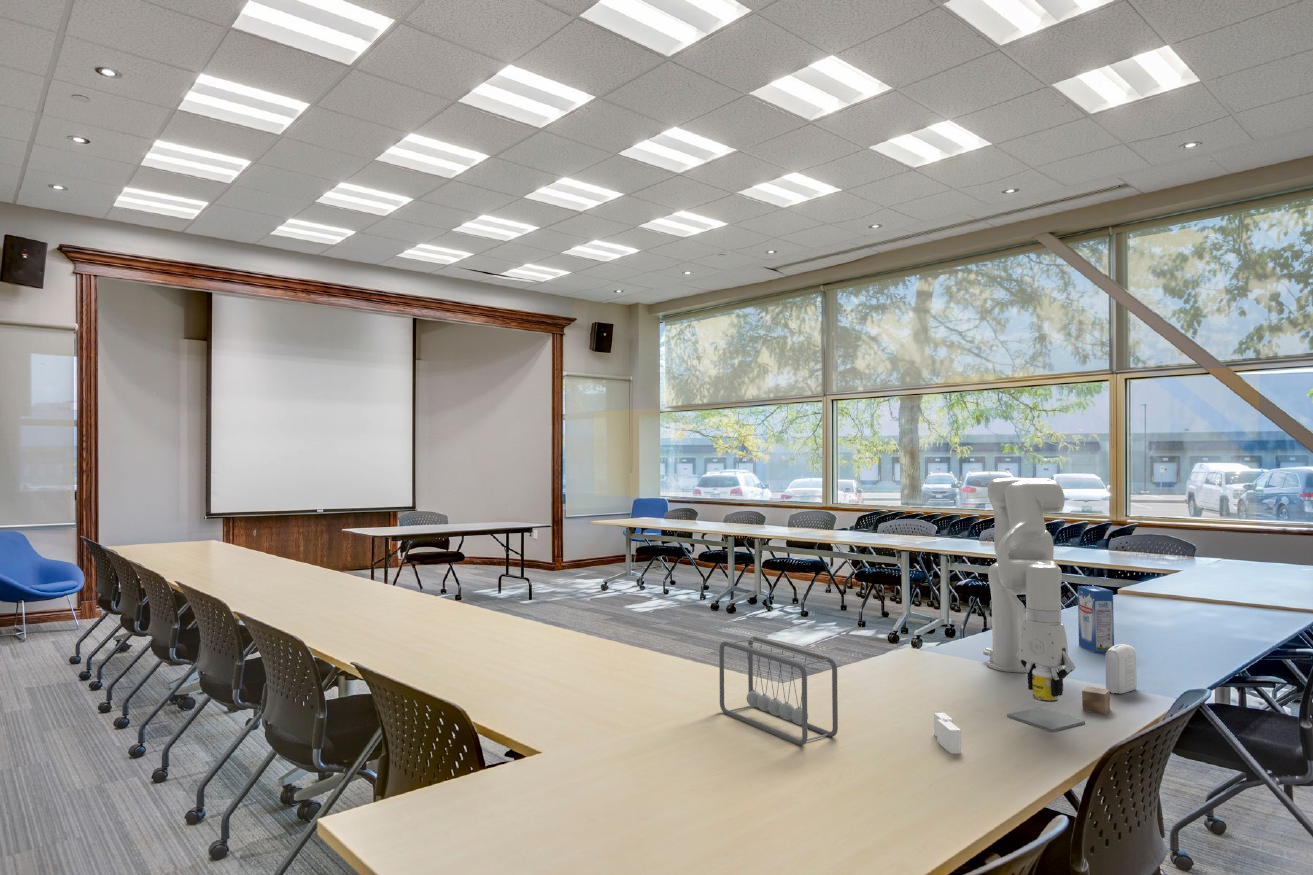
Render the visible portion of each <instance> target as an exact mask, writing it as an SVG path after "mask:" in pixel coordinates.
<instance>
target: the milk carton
mask: <svg viewBox="0 0 1313 875" xmlns="http://www.w3.org/2000/svg"><path fill="white" fill-rule="evenodd" d="M1077 606H1078V607H1077V612H1078V613H1077V616H1078V617H1077V620H1078V621H1077V622H1078V647H1080V646H1081V647H1080V648H1083V649H1085V648H1086V649H1085V650H1086V651H1089V650H1091V651H1090V652H1092V651H1093V652H1092V653H1095V654H1106V652H1107V651H1108V650H1109V649H1110V648H1111V647H1113V646H1115V626H1114V624H1115V623H1114V616H1115V615H1114V591H1113V590H1111V589H1107V588H1104V587H1099V586H1096V585H1095V586H1094V585H1093V586H1091V585H1090V586H1087V585H1085V586H1083V585H1080V586H1079V585H1078V586H1077Z"/></svg>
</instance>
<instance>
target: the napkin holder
mask: <svg viewBox="0 0 1313 875" xmlns="http://www.w3.org/2000/svg"><path fill="white" fill-rule="evenodd" d="M933 720H934V721H933V722H934V723H933V727H934V729H933V730H934V732H933V733H934V734H933V735H934V736H935V737H937V741H936V742H937V743H938V744H940V745H941V746H942V748H944V749H945V750H946V751H947V752H948V753H950V754H962V729H960V728H959V727H958V726H956V724H954V721H953V718H952V717H951V716H949V715H948V714H946V713H945V712H934V713H933Z"/></svg>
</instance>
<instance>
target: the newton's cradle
mask: <svg viewBox="0 0 1313 875" xmlns="http://www.w3.org/2000/svg"><path fill="white" fill-rule="evenodd" d="M744 642H747V646H746V645H743V644H741V643H744ZM754 643H756V646H758V645H760V647H761V648H758V649H757V648H754V647H753V646H754ZM762 645H764V646H767V649H769V648H770V652H767V651H764V650H763V649H765V647H764V648H763V647H762ZM725 647H728V648H731V649H734V650H738V651H741V652H745V653H746V655H747V656H746V657H747V662H748V664H747V665H748V667H747V668H748V669H747V671H748V672H747V674H748V679H747V680H748V683H747V684H748V693H747V695H746V702H747V703H748V705H746V706H743V707H738V708H733V709H727V707H726V705H725ZM773 648H774V649H776V650H774V651H773ZM777 650H778V652H781V655H778V654H775V653H776V652H777ZM718 651H719V661H718V662H719V707H720V710H721V712H722V713H724V714H725V715H727V716H730V717H732V718H734V719H735V720H736V719H737V720H739V721H741V722H744V723H746V724H748V725H749V726H753V727H755V728H757V729H760V730H762V731H765V732H767V733H770V734H772V735H774V736H776V737H779V738H782V739H783V740H785V741H788V742H791V743H793V742H794V743H793V744H795V743H796V744H795V745H797V744H798V746H805V745H806V743H807V742H809V741H813V740H817V739H820V738H824V737H829V738H833V737H834V738H835V736H836V735H837V733H838V728H839V726H838V724H839V721H838V720H839V717H838V716H839V712H838V711H839V710H838V709H839V708H838V705H839V704H838V666H837V663H836V661H835V660H834V659H833V658H831V657H830V656H827V655H823V654H819V653H815V652H812V651H809V650H805V649H801V648H797V647H794V646H790V645H788V644H783V643H780V642H776V641H772V640H769V639H765V638H762V637H758V636H751V637H750V638H747V639H742V640H740V639H739V640H736V641H730V642H729V641H727V640H726V641H722V642H721V643H720V645H719V650H718ZM784 652H787V653H789V654H786V656H788V655H790V654H791V655H793V656H792V658H787V657H784V656H785V654H784ZM795 655H798V656H801V657H797V658H796V657H795ZM754 656H756V657H757V663H758V664H757V665H758V666H757V670H758V671H757V672H756V677H758V675H759V676H760V682H761V684H763V682H762V681H763V680H762V673H761V666H760V660H761V658H764V659H767V662H768V666H769V667H768V672H767V677H769V676H772V672H771V667H770V666H771V663H770V662H771V661H773V662H776V663H778V664H779V672H780V673H779V676H778V682H777V691H776V695H778V692H779V686H780V678H781V683H782V685H784V681H783V675H782V665H781V664H783V665H785V666H790V668H791V671H790V672H791V674H790V681H789V687H788V688H789V689H788V698H787V701H786V695H785V688H784V686H782V690H783V695H784V696H783V697H784V702H783V701H782V700H780V699H779V698H778V696H776V697H775V690H772V693H773V694H772V695H773V698H772V697H771V696H770V695H768V694H767V693H765V692H767V691H768V690H767V689H768V682H769V678H767V680H766V687H765V688H766V689H765V692H764V687H763V685H761V689H762V694H761V693H760V692H759V691H758V690H757V686H755V688H754V674H753V673H754V672H753V671H754V668H753V667H754V662H753V661H754V660H753V659H754ZM801 658H802V659H803V658H804V662H802V661H798V660H797V659H801ZM807 658H808V659H811V660H815V661H811V662H810V661H809V662H806V661H807ZM823 662H827V663H828V664H830V666H831V687H832V688H831V691H832V693H831V694H832V700H831V702H832V705H831V706H832V710H831V711H832V730H831V731H829V730H827V729H824V728H821V727H819V726H817V725H815V724H811V723H809V722H808V719H809V714H808V713H809V712H808V675H807V674H808V673H807V670H806V666H808V665H809V666H810V665H813V664H819V663H823ZM793 668H796V669H799V671H800V673H801V695H800V696H801V698H800V703H801V704H800V705H799V702H798V696H797V690H796V684H795V679H794V672H793ZM755 679H756V680H755V681H756V682H755V685H757V683H758V678H755ZM772 679H773V678H772V677H770V680H771V687H772V689H774V685H773V680H772ZM792 681H793V687H794V692H795V698H796V704H797V707H794V705H793V704H792V703H790V702H789V698H790V692H791V691H790V690H791V683H792ZM748 708H755V709H758V710H760V711H763V712H764V713H765V712H766V713H768V714H771V715H772V716H775V717H778V718H781V719H784V720H786V721H788V722H790V723H794V724H796V725H799V726H801V734H802V735H801V736H802V737H801V739H799V738H796V737H794V736H791V735H790V734H787V733H784V732H782V731H780V730H777V729H774V728H772V727H771V726H768V725H765V724H763V723H761V722H758V721H757V720H756V721H755V720H754V719H751V718H748V717H746V716H744V715H741V714H739V713H737V712H736V711H739V710H744V709H748ZM808 730H811V731H813V732H816V733H818V734H821V735H818V736H814V737H811V738H808V737H809V736H808Z"/></svg>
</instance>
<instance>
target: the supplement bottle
mask: <svg viewBox="0 0 1313 875" xmlns="http://www.w3.org/2000/svg"><path fill="white" fill-rule="evenodd" d="M1035 666H1036V668H1034V669H1033V671H1032V682H1033V690H1032V700H1033V702H1036V703H1037V704H1041V705H1046V706H1047V705H1057V704H1058V702H1059V696H1056V697H1054V696H1052V695H1051V680H1052V679H1054V678H1053V674H1052V671H1051V668H1050V667H1046V666H1042V665H1038V664H1035Z"/></svg>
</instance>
